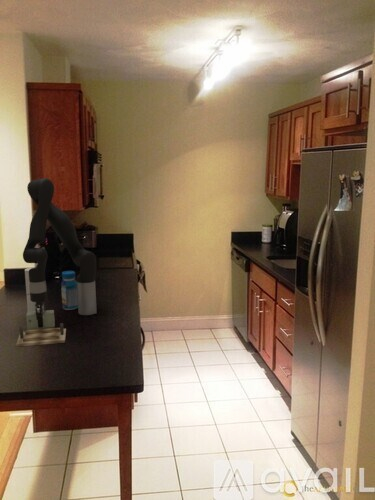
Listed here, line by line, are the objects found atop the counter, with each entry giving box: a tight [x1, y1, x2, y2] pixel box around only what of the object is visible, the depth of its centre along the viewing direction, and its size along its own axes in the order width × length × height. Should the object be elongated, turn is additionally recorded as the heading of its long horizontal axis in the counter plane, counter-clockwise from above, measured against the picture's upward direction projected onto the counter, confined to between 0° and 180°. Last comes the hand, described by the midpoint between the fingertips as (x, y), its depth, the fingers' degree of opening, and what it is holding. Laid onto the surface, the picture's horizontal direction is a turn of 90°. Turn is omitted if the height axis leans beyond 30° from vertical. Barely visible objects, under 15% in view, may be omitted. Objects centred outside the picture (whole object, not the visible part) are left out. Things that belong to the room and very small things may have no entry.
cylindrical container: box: [24, 266, 37, 312], centre depth 222 cm, size 7×7×25 cm
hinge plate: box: [15, 322, 67, 348], centre depth 196 cm, size 20×14×6 cm
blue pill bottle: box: [60, 270, 78, 311], centre depth 236 cm, size 8×8×20 cm
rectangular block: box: [25, 309, 56, 330], centre depth 205 cm, size 12×6×7 cm, turn 104°
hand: (41, 324), depth 206 cm, fingers closed on rectangular block, 4 cm apart
